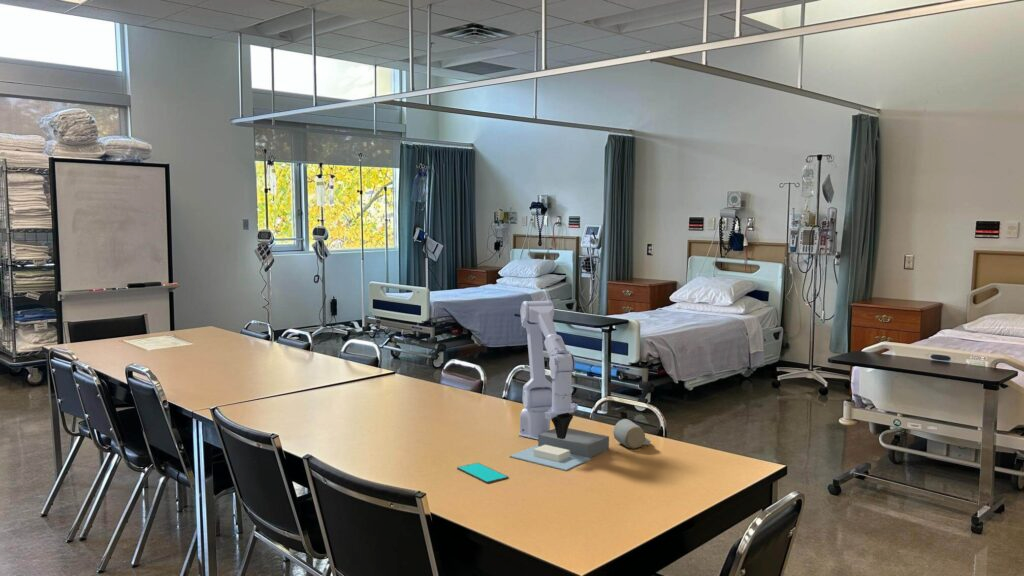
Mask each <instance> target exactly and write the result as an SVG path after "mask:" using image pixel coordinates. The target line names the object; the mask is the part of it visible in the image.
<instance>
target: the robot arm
mask: <svg viewBox="0 0 1024 576" xmlns="http://www.w3.org/2000/svg"><path fill="white" fill-rule="evenodd" d="M519 311H520V322H521V327H523V328H524V329H525V330H526V335H527V336H526V339H527V349H528V350H527V351H528V362H529V376H530V379H529V380H528V381H527V382H526V383H525V384H523V387H522V405H523V408H522V410H521V412H520V416H519V433H518V436H520V437H524V438H529V439H534V440H537V441H538V435H539V434H542V433H544V432H547V431H550V430H551V422H552V424H553V426H554V429H555V430H556V434H557V438H559V439H565V438H566V434H567V430H568V428H569V426H570V424H571V422H572V420H573V419H574V414H572V413H574V412H575V411H578V403H574V402H572V378H573V377H572V373H573V372H574V371H575V369H576V360H575V356H574V354H573V353H572V352H570V350H568V349H567V347H566V344H565V342H564V340H563V337H562V336H561V335H559V334H557V331H556V327H555V323H554V316H555V305H554V303H553V301H552V300H551V299H548V300H529V301H528V300H524V301H523V302H522V303H521V306H520V309H519ZM543 336H544V337H545V340H544V342H543ZM544 348H545V350H546V353H547V355H548V357H549V362H548V365H549V366H548V367H549V370H550V378H551V379H552V380H551V381H549V380H548V379H547V377H546V368H545V367H546V366H545V358H544V357H545V356H544Z"/></svg>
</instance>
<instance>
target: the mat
mask: <svg viewBox="0 0 1024 576" xmlns="http://www.w3.org/2000/svg"><path fill="white" fill-rule="evenodd" d="M538 447H540V446H538V445H534V446H531V447H529V448H527V449H523V450H520V451H518V452H516V453H513V454H511V455H509V458H512V459H516V460H521V461H524V462H527V463H528V462H529V463H532V464H537V465H540V466H544V467H548V468H553V469H556V470H560V471H565V472H567V471H570V470H572V469H573V468H575V467H578V466H580V465H582V464H584V463H586V462H589V461H591V460H592V457H591V458H588V457H584V456H579V455H575V454H570V457H568V458H566V459H564V460H562V461H559V462H557V461H552V460H548V459H544V458H540V457H536V456H533V449H535V448H538Z"/></svg>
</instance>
